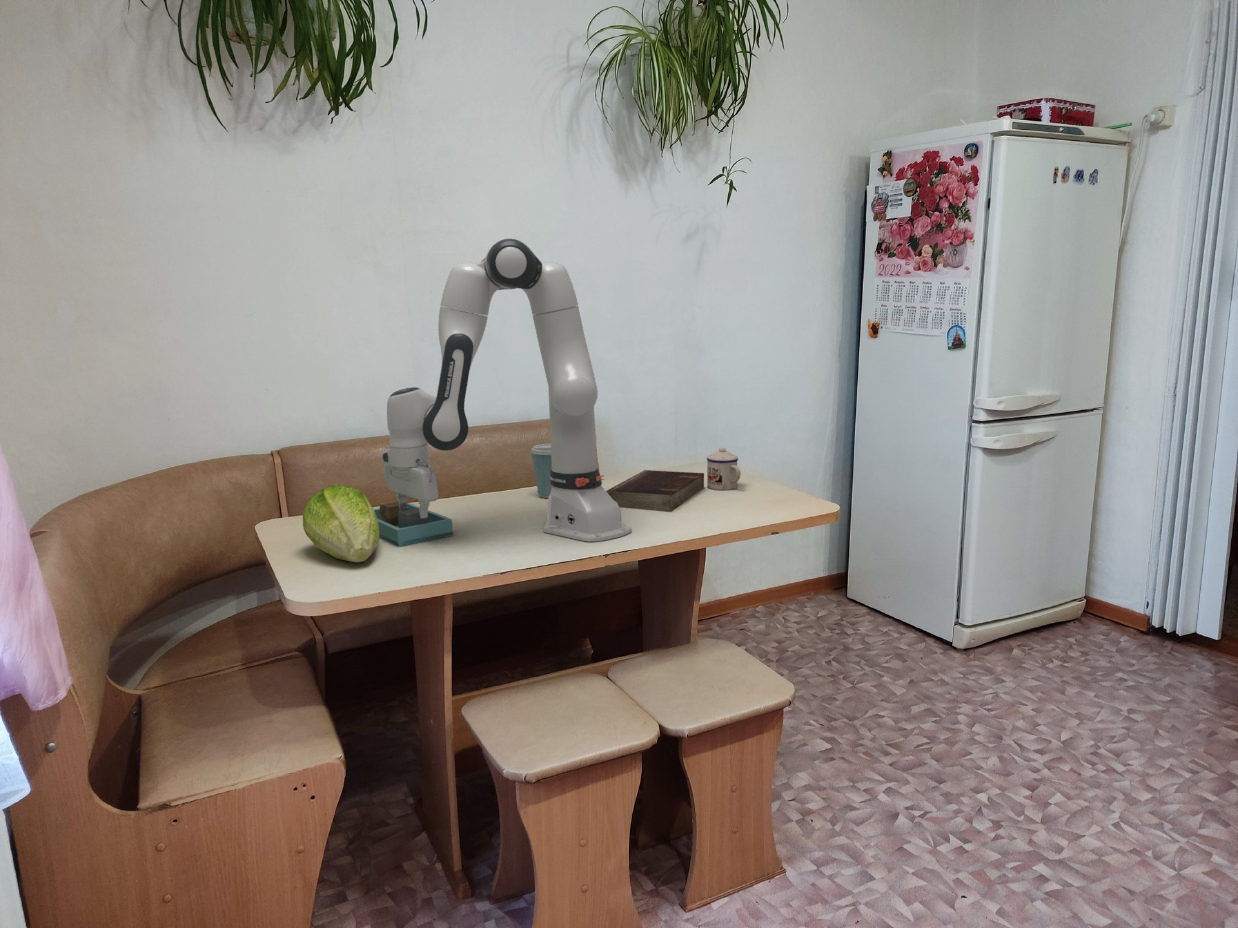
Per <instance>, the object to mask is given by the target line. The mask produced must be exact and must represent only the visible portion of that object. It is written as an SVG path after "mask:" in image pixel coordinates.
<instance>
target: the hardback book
mask: <svg viewBox="0 0 1238 928" xmlns="http://www.w3.org/2000/svg"><path fill="white" fill-rule="evenodd" d="M704 489H705V473H704V472H692V471H690V472H687V471H666V470H648V469H644V470H642V471H641V472H639V473H637V474H635V475H632V476H631V477H629V478H627V479H626V480H624V481H622V482H620V483H618V484H617V485H614V486H612V487H611V488H608V489H607V490H605V491H606V492H607V493H608V494H609V495H610V497H611V498H612V499H613V500H614V501H616V502H617V503H618V506H619V508H620V509H622V508H623V509H632V510H634V509H635V510H643V511H655V512H656V511H657V512H664V513H665V512H667V513H668V512H669V513H672V512H673V511H674V510H675V509H677V508H679V507H680V506H681V505H683V504H684V503H686V502H687V501H688V500H690V499H691V498H692V497H693V498H694V496H696V495H697V494H698V493H700V492H701V491H703V490H704Z"/></svg>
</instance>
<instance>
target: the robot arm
mask: <svg viewBox="0 0 1238 928" xmlns="http://www.w3.org/2000/svg"><path fill="white" fill-rule="evenodd" d="M516 289H521V290H522V291H523V292H524V293H525V294H526V296H527V299H528V301H529V305H530V310H531V315H532V319H533V324H534V329H535V333H536V337H537V342H538V346H539V347H538V348H539V351H540V356H541V359H542V364H543V370H544V372H545V377H546V383H547V385H548V406H549V411H548V412H549V428H550V429H549V430H550V443H551V461H552V469H551V470H550V484H551V485H552V489H551V492H550V495H549V497H548V498H547V508H546V524H545V525H544V526H543V527H542V528H543V530H542V531H543V533H547V534H551V535H556V536H560V537H564V538H569V539H573V540H577V541H583V542H602V541H607V540H612V539H616V538H620V537H624V536H626V535H628V534H630V533H632V527H631V526H630V525H628V524H625V523H623V522H622V513H621V507H619V506H618V503H617V502H616V501H614V500H613V499H612V498H611V497H610V495H609V494H608V493H607V492H606V491H607V490H606V489H605V488H604V487H603V481H604V480H605V478H604V477H605V475H604V474H602V475H601V473H600V470H599V469H598V467H597V466H598V465H597V464H598V462H597V454H598V453H597V452H598V451H597V431H596V420H595V405H596V403H597V401H598V395H599V394H598V393H599V391H598V386H597V381H596V378H595V373H594V370H593V369H594V368H593V364H592V361H591V357H590V352H589V348H588V345H587V342H586V336H585V332H584V327H583V322H582V318H581V312H580V307H579V303H578V299H577V295H576V291H575V287H574V284H573V282H572V279H571V277H570V275H569V272H568V270H567V268H566V267H565V266H564V265H562V264H561V263H558V262H554V261H553V262H551V261H547V262H541V260H540V259H539V258H538V257H537V256H536V254H535V253H534V252H533V251H532V250H531V248H530V247H529V246H528V245H526V244H525V243H524V242H522V241H521V240H518V239H517V238H516V239H515V238H504V239H502V240H499V241H498V242H496V243H494V244H493V245H492V246H491V247H489V249H488V251H487V253H486V255H485V257H484V258H483V259H482V260H481V261H480V262H477V263H474V262H468V261H467V262H465V261H464V262H460V263H457V264H455V265H454V266H453V267H452V268H451V269H450V271H449V274H448V278H447V279H446V283H445V285H444V288H443V292H442V296H441V301H440V307H439V313H438V326H437V327H438V340H439V341H438V342H439V345H440V352H441V353H440V354H441V368H440V374H439V378H438V379H439V381H438V385H437V391H436V392H437V393H436V395H435V396H434V395H432V394H431V393H427V392H426V391H424V390H422V389H421V388H419V387H413V386H412V387H405V388H401V389H399V390H396V391H393V392H392V393H391V394H390V395H389V397H388V398H387V403H386V421H387V422H386V423H387V425H386V426H387V430H388V433H389V442H388V446H389V447H388V450H386V451H384V452H382V453H381V461H382V462H383V463H384V464H383V470H384V471H383V472H384V473H383V474H384V479H385V485H386V488H387V489H388V490H389V491H392V492H395V497H396V501H397V500H398V502H399V508H400V510H406V509H409V503H410V502H408V500H407V497H408V498H411V499H414V500H417V501H418V505H419V510H417V511H418V517H420V518H427V516H428V514H427V510H429V507H430V502H435V501H437V500H438V498H439V488H438V482H437V481H438V480H437V476H436V472H435V470H434V469H433V468H432V467H431V464H430V462H429V458H430V457H429V445H430V446H431V447H432V448H434V449H436V450H438V451H445V452H446V451H447V452H448V451H452V450H454V449H455V450H456V449H457V448H459V447H460V446H461V445H463V443H464V442H465V441H466V439H467V438H468V433H469V423H468V419H467V416H466V410H465V403H466V402H465V400H466V395H467V394H466V393H467V390H468V389H467V388H468V382H469V376H470V371H471V366H472V364H473V362H474V358H475V356H476V354H477V352H478V349H479V347H480V345H481V343H482V340H483V337H484V333H485V331H486V328H487V323H488V316H489V313H490V312H489V311H490V306H491V301H492V299H493V296H494V295H495V293H496V292H497V291H501V290H516Z"/></svg>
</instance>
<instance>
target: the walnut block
mask: <svg viewBox="0 0 1238 928" xmlns="http://www.w3.org/2000/svg"><path fill="white" fill-rule="evenodd" d="M378 505H379V508H380V519H381V520H382V521H384V522H386V523H388V524H391V525H393V526H398V525H399V523H398V511H400V508H399V502H398V500H397V499H396V500H393V501H387V502H381V503H379V504H378Z"/></svg>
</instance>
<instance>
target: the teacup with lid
mask: <svg viewBox="0 0 1238 928" xmlns="http://www.w3.org/2000/svg"><path fill="white" fill-rule="evenodd" d="M706 460H707V462H706V463H707V468H706V469H707V470H706V471H707V473H706V475H707V476H706V477H707V479H706V484H707V485H706V487H707V488H708V489H710V490H715V491H731V490H735V489H736V488H737V487H738V482H739V480H740V478H741V469H740V468H739V466H738V460H739V458H738V456H737V455H736V454H733V453H731V452H730V451H727V449H726V448H725V447H719V449H718V450H717V451H715V452H714V453H711V454H709V455H707V457H706Z"/></svg>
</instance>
